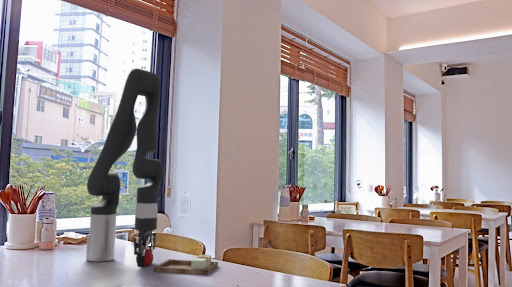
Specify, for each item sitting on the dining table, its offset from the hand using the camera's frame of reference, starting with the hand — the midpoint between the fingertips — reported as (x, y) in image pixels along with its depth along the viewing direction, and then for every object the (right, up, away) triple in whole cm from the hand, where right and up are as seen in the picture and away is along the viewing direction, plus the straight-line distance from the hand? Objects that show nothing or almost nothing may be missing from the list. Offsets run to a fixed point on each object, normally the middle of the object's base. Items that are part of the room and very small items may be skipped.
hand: (144, 264), depth 150 cm
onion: (0, -2, 0) cm, 2 cm away
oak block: (+21, 0, -2) cm, 21 cm away
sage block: (+20, 0, -8) cm, 22 cm away
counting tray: (+15, -2, -5) cm, 16 cm away
